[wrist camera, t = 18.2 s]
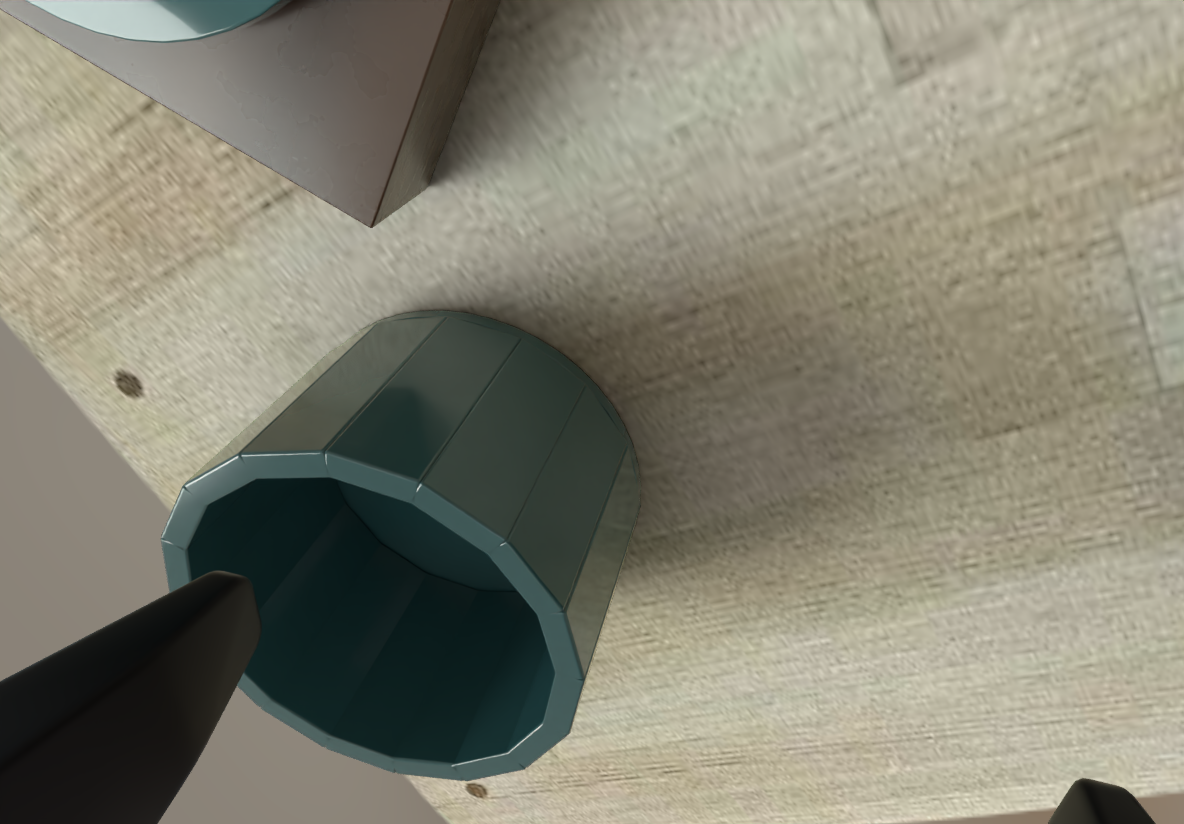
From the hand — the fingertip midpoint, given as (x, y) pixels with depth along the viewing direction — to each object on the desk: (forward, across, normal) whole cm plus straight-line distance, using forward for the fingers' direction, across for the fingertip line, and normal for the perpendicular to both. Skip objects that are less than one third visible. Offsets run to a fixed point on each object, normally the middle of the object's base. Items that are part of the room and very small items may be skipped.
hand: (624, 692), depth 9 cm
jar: (+13, +7, +8) cm, 17 cm away
